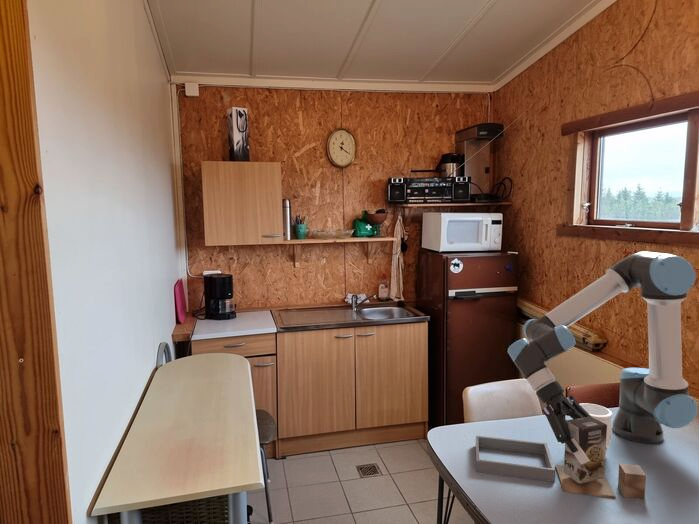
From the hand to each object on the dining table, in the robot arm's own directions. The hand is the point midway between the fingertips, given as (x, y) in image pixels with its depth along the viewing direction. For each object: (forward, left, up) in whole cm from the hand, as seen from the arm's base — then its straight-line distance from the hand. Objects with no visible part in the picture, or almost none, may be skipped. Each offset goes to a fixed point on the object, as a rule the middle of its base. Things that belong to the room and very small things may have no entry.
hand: (595, 456), depth 128 cm
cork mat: (+2, -2, -9) cm, 9 cm away
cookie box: (+2, -2, -7) cm, 8 cm away
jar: (-4, -19, -9) cm, 21 cm away
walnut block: (-9, +1, -9) cm, 13 cm away
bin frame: (+21, -8, -9) cm, 24 cm away
